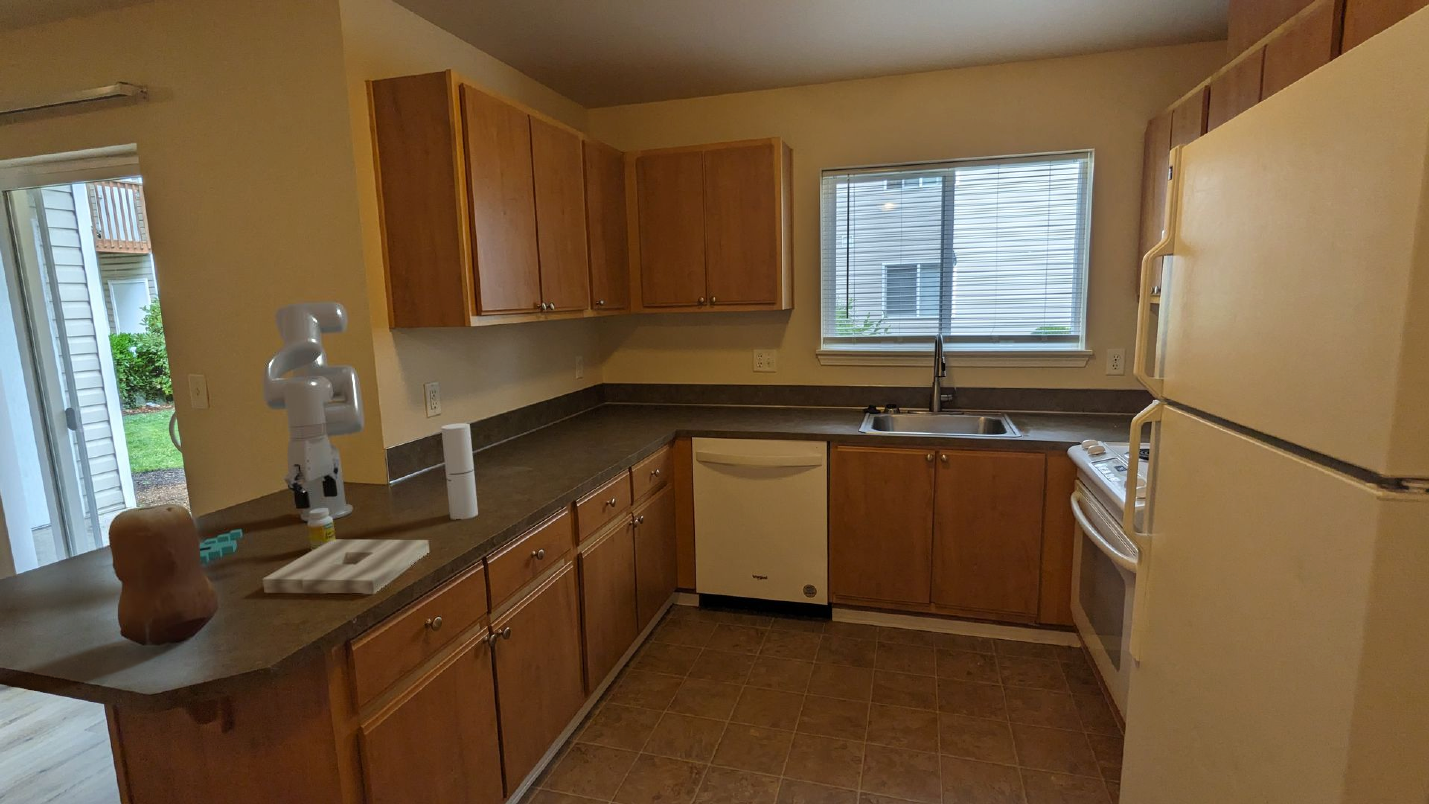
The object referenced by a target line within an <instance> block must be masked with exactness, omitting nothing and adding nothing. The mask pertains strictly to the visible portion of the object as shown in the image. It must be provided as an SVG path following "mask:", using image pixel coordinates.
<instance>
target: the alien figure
mask: <svg viewBox="0 0 1429 804" xmlns="http://www.w3.org/2000/svg"><path fill="white" fill-rule="evenodd" d="M242 531H243V530H242V528H240V529H233V530H230V532H229V533H223V534H219V535H217V537H214V538H208V539H205V541H204V542H199V544H200V562H201V565H203V564H208V563H209V561H210V560H217V559H221V558H222V557H223V555H228V554H233V553H235V551H236V549H237V546H238V545H237V539H238V540H239V539H242V537H243V532H242Z"/></svg>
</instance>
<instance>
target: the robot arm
mask: <svg viewBox="0 0 1429 804" xmlns="http://www.w3.org/2000/svg"><path fill="white" fill-rule="evenodd" d="M348 319H349V318H348V313H347V310H346V308H345V307H344V305H343V304H342V303H339V302H337V301H335V302H333V301H324V302H323V301H321V302H319V301H318V302H314V301H313V302H297V303H292V304H288V305H287V304H286V305H283V306H281V307H279V308H277V309H276V310H275V313H274V320H275V325H276V328H277V331H278V333H279V335H280V337H281V340H282V345H283V346H282V347H281V348H279V349H278V350H277V351H276V352H274V354H273V355H272V356H271V357H270V358H269V359H268V360H267V361H266V363H265V365H264V367H263V371H262V396H263V401H264V404H266V406H267V407H268V408H270V409H272V410H275V411H276V410H278V411H282V410H285V411H286V418H287V426H288V432H289V440H288V444H287V470H288V472H287V473H286V475H285V476H284V478H283V480H284V481H285V483H286V485H287V488H288V489H289V490H290V492H291V493H293V498H294V508H295V509H296V510H302V513H301V514H300V517H301V518H300V519H301V520H302V521H304V522H308V521H309V520H310V519H311V518H310V515H309V512H310V511H311V510H314V509H318V508H328V510H329V515H328V516H330V517H332V518H333V520H335V519H338V518H343V517H344V516H345V517H346V516H347V515H349V514H350V513H352V512H353V509H354V508H353V505H351V504H349V503H346V496H345V495H346V494H345V485H344V480H343V470H342V464H341V455H340V450H339V449H338V448H337V446H336V445H335V444H334V443H333V442H331V441H330V440H329V438H330V437H337V436H344V435H352V434H357V433H360V432H361V431H363V429H364V427H365V414H364V406H363V399H362V391H361V383H360V378H359V375H358V372H357V370H356V369H355V368H354V367H353V366H352V365H347V364H338V365H328V361H327V353H326V352H327V351H326V350H325V348H323V341H322V335H328V334H344V333H345V332H346V330H347V328H348V323H349V322H348V321H349V320H348ZM291 371H292V377H283V376H284V375H285V374H288V373H289V372H291ZM331 400H334V401H331ZM336 400H337V401H336ZM300 484H301V485H300Z"/></svg>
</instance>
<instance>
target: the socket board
mask: <svg viewBox="0 0 1429 804" xmlns="http://www.w3.org/2000/svg"><path fill="white" fill-rule="evenodd" d="M427 553H428V554H429V553H430V543H429V540H428V539H351V538H349V539H339V538H338V539H332V540H330V541H329V542H327V543H325V544H323V545H322V546H320V547H318V548H316V549H315V550H313V551H312V550H311V551H309V552H308V553H306V554H304V555H302V556H300V557H299V558H297V559H295V560H293V561H292V562H290V563H288V564H286V565H285V566H283V567H280V568H279V569H277V570H276V571H273V572H272V573H271V574H269V575H267V576H265V577H264V578H262V584H263V590H264V593H267V594H269V593H270V594H273V593H275V594H283V593H284V594H326V593H363V594H362V595H375V594H377V593H378V592H380V590H382V589H383V588H384V587H386V586H387V585H388V584H390V583H391V582H392V581H393V580H395V579H396V578H398V577H399V576H400V575H402V574H403V573H404V572H406V570H408V569H409V568H410V567H412V566H413V565H415V564H416V563H418V562H419V561H420V560H421V559H422V558H424V557H425V556H427V555H428V554H427ZM423 556H424V557H423ZM419 559H420V560H419ZM418 560H419V561H418ZM415 562H416V563H415ZM414 563H415V564H414ZM411 565H412V566H411ZM385 585H386V586H385ZM381 588H382V589H381ZM377 591H378V592H377Z"/></svg>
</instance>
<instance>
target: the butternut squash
mask: <svg viewBox="0 0 1429 804" xmlns="http://www.w3.org/2000/svg"><path fill="white" fill-rule="evenodd" d="M108 541H109V543H108V544H109V548H110V550H111V556H112V568H113V570H114V572H115V576H116V578H117V579H118V581H120V582H121V593H120V596H119V601H118V604H117V620H118V621H117V622H118V625H119V626H118V627H119V628H120V630H119V633H120V636H121V637H123V638H124V639H127V640H129V641H132V642H135V644H138V645H140V646H162V645H163V646H164V645H165V644H166V645H167V644H176V643H178V642H179V643H183V642H184V641H186V640H188V639H190V638H193V637H194V636H196V634H198V633H199V632H200V631H201V630H202V629H203V628H205V626H206V625H207V624H208V623H209V622H210V621H211V619H213V618H214V616H215V615H216V613H217V610H218V609H219V602H218V595H217V594H218V593H217V590H216V589H215V586H214V584H212V582H211V581H210V579H209V578H208V576H207V575H206V574H205V573H204V570H203V567H202V564H201V562H200V544H199V543H200V539H199V534H198V531H197V529H196V526H195V522H194V519H193V517H192V514H191V512H190V511H189V510H188V509H187V508H186V507H185V506H182V505H180V504H177V503H164V504H158V505H154V506H153V505H151V506H147V507H146V506H145V507H134V508H130V509H127V510H123V511H121V512H120V513H119V514H117V515H115V517H114V518H113V519H112V521H111V522H110V525H109V528H108ZM182 641H183V642H182Z"/></svg>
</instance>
